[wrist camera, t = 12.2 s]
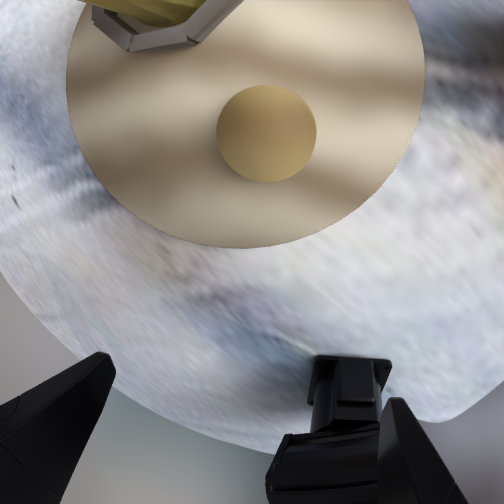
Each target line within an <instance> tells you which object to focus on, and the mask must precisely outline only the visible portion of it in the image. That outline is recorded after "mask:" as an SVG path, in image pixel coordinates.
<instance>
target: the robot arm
mask: <svg viewBox="0 0 504 504" xmlns="http://www.w3.org/2000/svg"><path fill="white" fill-rule="evenodd" d="M319 361H322V362H319ZM386 365H387V366H386ZM391 369H392V362H391V361H390V360H378V359H360V358H345V357H332V356H317V357H316V358H315V361H314V367H313V373H312V378H311V384H310V389H309V394H308V400H307V404H308V405H310V406H313V411H312V420H311V428H310V433H304V434H285V435H284V437H283V439H282V442H281V443H280V446H279V448H278V450H277V452H276V455H275V457H274V459H273V462H272V463H271V466H270V468H269V470H268V472H267V474H266V477H265V480H266V482H265V487H266V494H267V498H268V501H269V504H469V503H468V501H467V499H466V498H465V496H464V495H463V493H462V492H461V490H460V488H459V486H458V485H457V483H455V480H454V478H453V477H452V475H451V473H450V472H449V470H448V468H447V467H446V465H445V463H444V462H443V460H442V458H441V457H440V456H439V454H438V452H437V451H436V449H435V447H434V446H433V444H432V442H431V441H430V439H429V438H428V436H427V434H426V433H425V432H424V430H423V428H422V427H421V425H420V424H419V422H418V420H417V419H416V417H415V416H414V414H413V413H412V411H411V409H410V408H409V406H408V405H407V403H406V402H405V400H404V399H403V398H401V397H390V398H389V399H388V401H387V403H386V405H385V407H384V409H383V411H382V398H381V393H382V391H383V388H384V386H385V384H386V381H387V379H388V376H389V374H390V371H391ZM115 376H116V369H115V367H114V364H113V362H112V359H111V357H110V355H109V354H107V353H104V352H100V351H99V352H96V353H94V354H92V355H91V356H89V357H87V358H85V359H83V360H82V361H80V362H78V363H76V364H75V365H73V366H71V367H69V368H68V369H66V370H64V371H62V372H60V373H59V374H57V375H55V376H53V377H51V378H50V379H48V380H46V381H44V382H43V383H41V384H39V385H38V386H36V387H34V388H32V389H30V390H28V391H26V392H25V393H23V394H21V395H20V396H17V397H16V398H14V399H12V400H10V401H8V402H6V403H4V404H2V405H0V504H60V502H61V500H62V497H63V494H64V492H65V490H66V488H67V485H68V483H69V481H70V479H71V476H72V474H73V472H74V470H75V467H76V465H77V463H78V461H79V459H80V457H81V454H82V452H83V450H84V448H85V446H86V444H87V442H88V440H89V438H90V435H91V433H92V431H93V429H94V427H95V425H96V423H97V421H98V419H99V417H100V415H101V413H102V410H103V408H104V406H105V403H106V400H107V397H108V395H109V392H110V389H111V387H112V384H113V381H114V379H115Z"/></svg>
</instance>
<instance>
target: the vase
mask: <svg viewBox="0 0 504 504" xmlns="http://www.w3.org/2000/svg"><path fill="white" fill-rule="evenodd" d="M78 1H82V2H85V3H88V4H91V5H95V6H98V7H101V8H104V9H107V10H110V11H114V12H117V13H120V14H123V15H126V16H129V17H132V18H134V19H137V20H138V21H140V22H141V23H143V24H146V25H149V26H155V27H163V26H170V25H174V24H177V23H180V22H182V21H184V20H186V19H188V18H190V17H191V16H192V15H193V14H194V13H195V12H196V11H197V10H198V9H199V7H200V6H201V5H202V4H203V3H204V2H205V1H206V0H78Z"/></svg>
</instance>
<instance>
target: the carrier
mask: <svg viewBox="0 0 504 504" xmlns="http://www.w3.org/2000/svg"><path fill="white" fill-rule="evenodd" d="M424 85H425V62H424V50H423V45H422V41H421V37H420V32H419V28H418V25H417V22H416V20H415V17H414V15H413V12H412V10H411V8H410V5H409V3H408V1H407V0H206V1H205V2H204V3H203V4H202V5H201V6H200V7H199V9H198V10H197V11H196V12H195V13H194V14H193V15H192V16H191V17H190V18H188V19H186V20H184V21H182V22H180V23H177V24H174V25H170V26H163V27H155V26H149V25H146V24H143V23H141V22H140V21H138V20H137V19H134V18H132V17H129V16H126V15H123V14H120V13H117V12H114V11H110V10H107V9H104V8H101V7H98V6H95V5H91V4H88V3H87V4H86V6H85V8H84V9H83V11H82V13H81V16H80V18H79V21H78V23H77V26H76V29H75V31H74V34H73V38H72V42H71V46H70V50H69V56H68V63H67V73H66V93H67V102H68V110H69V115H70V119H71V123H72V128H73V131H74V134H75V136H76V139H77V142H78V145H79V147H80V149H81V151H82V153H83V155H84V157H85V159H86V161H87V163H88V165H89V166H90V168H91V169H92V171H93V172H94V174H95V175H96V177H97V178H98V180H99V181H100V182H101V183H102V185H103V186H104V187H105V188H106V189H107V190H108V192H109V193H110V194H111V195H112V196H113V197H114V198H115V199H116V200H117V201H118V202H119V203H120V204H122V205H123V206H124V207H125V208H126V209H127V210H128V211H130V212H131V213H133V214H134V215H135V216H137V217H138V218H140V219H141V220H142V221H144V222H146V223H148V224H149V225H151V226H153V227H155V228H157V229H158V230H160V231H162V232H165V233H167V234H170V235H172V236H174V237H177V238H179V239H182V240H186V241H190V242H193V243H197V244H201V245H206V246H213V247H220V248H241V249H248V248H258V247H269V246H274V245H278V244H283V243H287V242H292V241H295V240H298V239H300V238H303V237H306V236H309V235H312V234H314V233H317V232H319V231H321V230H323V229H325V228H327V227H328V226H330V225H332V224H334V223H336V222H338V221H340V220H341V219H342V218H344V217H345V216H347V215H348V214H350V213H351V212H353V211H354V210H356V209H357V208H358V207H360V206H361V205H362V204H363V203H364V202H365V201H366V200H367V199H368V198H369V197H371V196H372V195H373V194H374V193H375V192H376V191H377V190H378V189H379V188H380V186H381V185H382V184H383V183H384V182H385V180H386V179H387V178H388V177H389V176H390V174H391V173H392V172H393V171H394V169H395V168H396V166H397V164H398V163H399V161H400V159H401V158H402V156H403V154H404V153H405V151H406V150H407V147H408V145H409V143H410V140H411V138H412V136H413V133H414V131H415V129H416V126H417V123H418V119H419V115H420V111H421V107H422V103H423V96H424Z"/></svg>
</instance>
